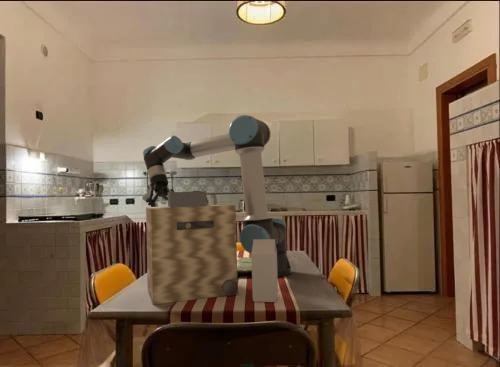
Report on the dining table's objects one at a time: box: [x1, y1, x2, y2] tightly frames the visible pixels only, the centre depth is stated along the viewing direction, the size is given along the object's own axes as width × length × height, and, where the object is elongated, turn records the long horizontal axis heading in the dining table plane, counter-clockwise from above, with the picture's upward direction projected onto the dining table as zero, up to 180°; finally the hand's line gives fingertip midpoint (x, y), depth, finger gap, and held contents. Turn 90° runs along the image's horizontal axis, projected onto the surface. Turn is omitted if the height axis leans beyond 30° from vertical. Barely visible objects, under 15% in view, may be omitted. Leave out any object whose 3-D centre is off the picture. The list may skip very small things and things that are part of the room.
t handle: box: [167, 190, 208, 208], centre depth 134 cm, size 12×30×5 cm, turn 21°
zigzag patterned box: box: [145, 204, 239, 305], centre depth 128 cm, size 28×20×30 cm
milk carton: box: [250, 239, 279, 303], centre depth 118 cm, size 7×7×19 cm
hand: (169, 220), depth 153 cm, fingers open, 13 cm apart
